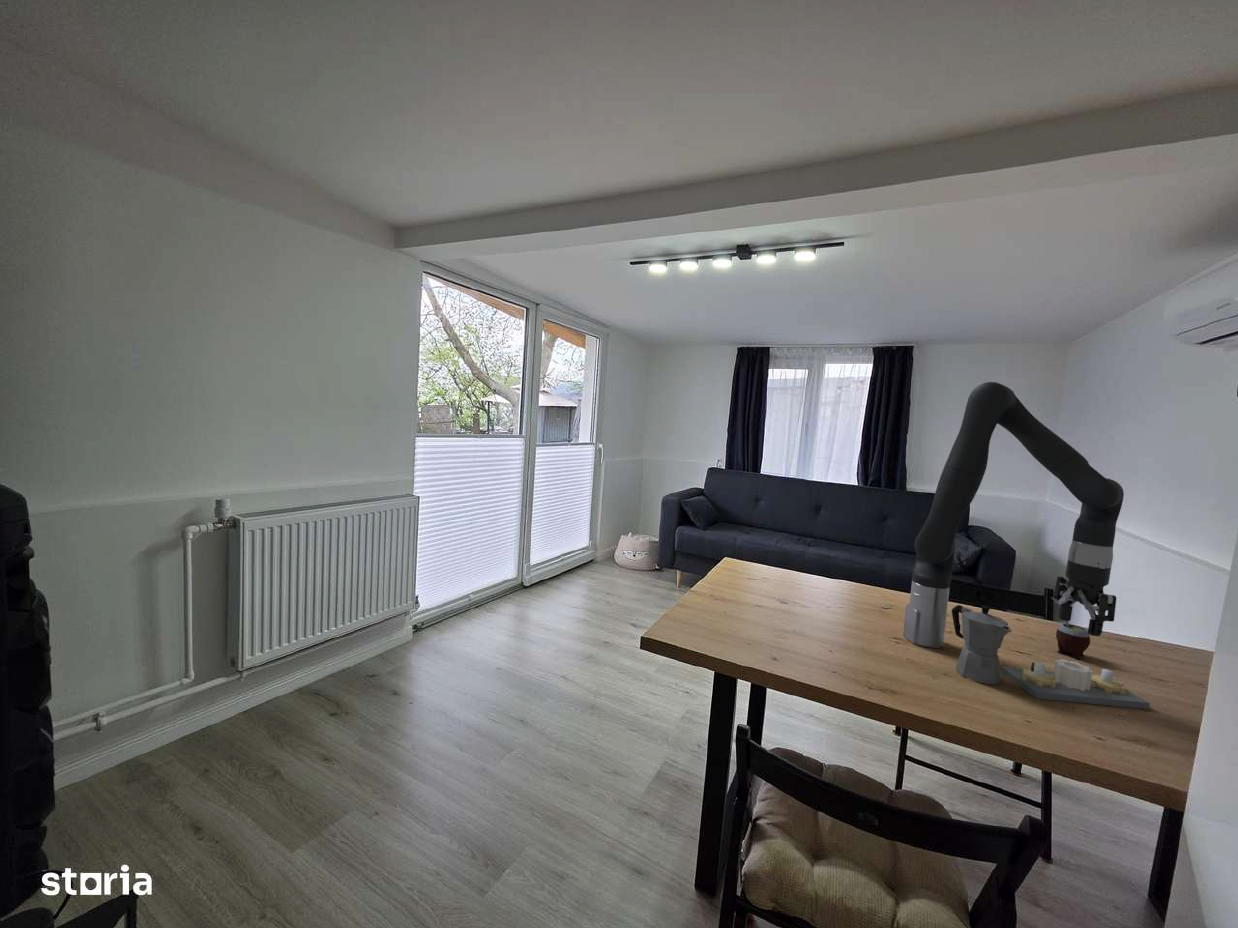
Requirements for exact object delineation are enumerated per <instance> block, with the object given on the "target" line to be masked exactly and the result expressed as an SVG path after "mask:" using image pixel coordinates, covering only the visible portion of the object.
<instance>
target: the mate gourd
mask: <svg viewBox="0 0 1238 928" xmlns="http://www.w3.org/2000/svg"><path fill="white" fill-rule="evenodd" d="M1050 598H1051V600H1053V602H1055V603H1056V605H1058V606H1059V607H1060V604H1059V601H1058V600H1057V599H1054V597H1052V596H1051V597H1050ZM1090 636H1091V635H1090V634H1088V630H1087V629H1086V628H1084V627H1082V626H1079V625H1076V624H1070V623H1069V621H1064V623H1063V624H1060V625H1059V626H1058V627H1057V630H1056V633H1055V637H1056V640H1057V648H1058V650H1057V652H1058V654H1059V653H1062V654H1061V655H1065V654H1066V656H1071V657H1072V658H1074V659H1076V660H1079V661H1080V659H1081V658H1080V657H1081V656H1082V657H1084V656H1085V654H1084V652H1086V651H1087V649H1088V648H1089V646H1090V644H1091V637H1090ZM1057 652H1056V653H1057Z"/></svg>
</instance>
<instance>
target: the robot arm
mask: <svg viewBox="0 0 1238 928" xmlns="http://www.w3.org/2000/svg"><path fill="white" fill-rule="evenodd" d="M967 398H968V399H967V401H966V405H965V410H964V413H963V417H962V422H961V425H960V428H959V432H958V433H957V436H956V438H955V440H954V442H953V445H952V447H951V450H950V451H949V452H950V453H949V455H948V457H947V459H946V462H945V464H944V466H943V469H942V471H941V474H940V478H939V480H938V484H937V485H936V489H935V493H934V497H933V501H932V505H931V508H930V511H929V513H928V516H927V517H926V520H925V522H924V524H923V526H922V527H921V529H920V531H919V533H918V535H917V536H916V537H915V539H914V540H915V541H914V549H915V553H916V554H915V556H916V557H915V563H914V566H913V571H912V577H911V587H910V588H911V589H910V595H909V596H910V597H909V603H908V604H906V605H905V612H904V613H905V614H904V624H903V631H902V635H903V636H904V638H906V640H908V641H909V642H911V644H913V645H918V646H922V647H925V648H926V647H927V648H933V649H935V648H937V649H940V648H942V647H943V646H944V640H945V631H946V623H947V614H948V612H947V611H948V605H949V595H950V587H951V580H952V575H953V568H954V560H955V551H956V541H955V538H956V534H957V532H958V528H959V524H960V523H961V520H962V519H963V517H964V515H965V513H966V512H967V510H968V508H969V507H970V506H971V504H972V502H973V501H974V499H975V496H976V495H977V492H978V490H979V488H980V486H981V483H982V481H983V478H984V476H985V473H986V471H987V466H988V460H989V452H990V451H989V449H990V443H991V438H992V436H993V433H994V430H995V429H996V427H997V425H999V426H1001V427H1002V428H1004V429H1006V431H1008V432H1009V433H1010V434H1011V435H1012V436H1014V437H1015V439H1017V441H1018V442H1019V443H1020V444H1022V446H1023V447H1024V448H1025V449H1026V450H1027V452H1029V454H1031V456H1032V457H1033V458H1034V459H1035V460H1036V461H1037V462H1039V464H1040V465H1042V466H1043V467H1044V468H1045V469H1046V470H1047V471H1049V473H1050V474H1052V475H1053V476H1054V477H1056V478H1057V479H1058V480H1059V481H1061V483H1062V484H1063V485H1064V486H1065V488H1066V489H1067V490H1068V491H1069V492H1070V493H1071V494H1072V495H1073V496H1074V497H1075V498H1076V499H1077V501H1079V502H1080V503H1081V507H1080V513H1079V516H1078V517H1077V519H1076V521H1075V523H1074V528H1073V535H1072V541H1071V543H1070V547H1069V550H1068V556H1067V563H1066V567H1065V568H1066V569H1065V573H1064V574H1065V577H1064V576H1057V577H1056V578H1057V579H1056V582H1055V586H1054V591H1053V592H1054V593H1053V597H1052V598H1054V599H1055V600H1056V601H1058V602H1059V604H1060V606H1059V610H1058V611H1059V612H1058V620H1061V621H1063V622H1065V621H1068V622H1070V621H1071V620H1072V614H1073V613H1072V612H1073V606H1074V604H1075V603H1079V604H1081V605H1082V606H1084V609H1085V610H1087V612H1088V614H1089V617H1090V618H1089V620H1088V621H1089V622H1088V628H1087V629H1088V630H1087V632H1088V634H1089V635H1090V636H1093V637H1094V636H1095V637H1100V636H1101V635H1102V634H1103V633H1102V632H1103V627H1104V623H1105V622H1113V623H1114V621H1115V615H1116V607H1117V596H1116V595H1114V594H1108V593H1105V592H1104V587H1105V586H1108V585H1109V583H1110V577H1111V571H1112V565H1113V561H1114V543H1115V536H1116V528H1117V521H1118V519H1119V516H1120V513H1121V511H1122V506H1123V502H1124V496H1125V495H1124V489H1123V487H1122V485H1121V484H1120V483H1119V482H1117V481H1116V480H1114V479H1111V478H1108V477H1105V476H1103V474H1101V473H1100V472H1099V471H1098V470H1096V469H1095V468H1094V467H1092V466H1091V465H1090V464H1089V463H1090V462H1089V461H1088V459H1087V458H1085V457H1084V456H1083V455H1082V454H1081V453H1080V452H1079V451H1078V450H1076V449H1075V448H1074V447H1073V446H1072V445H1070V444H1069V443H1068V442H1066V441H1065V440H1064V439H1063V438H1061V437H1060V435H1059V436H1058V434H1056V433H1055V432H1053V431H1052V430H1051V429H1049V428H1048V427H1047V426H1046V425H1044V424H1043V423H1042V422H1041V421H1040V420H1039V419H1038V418H1036V417H1035V416H1034V415H1033V414H1032V413H1031V412H1030V411H1029V409H1027V407H1026V406H1024V404H1023V403H1022V401H1021V400H1020V399H1019V398H1018V396H1016V394H1015V392H1014V391H1013V390H1012V389H1011V388H1010V387H1008V386H1006V385H1004V384H1002V383H999V382H996V381H987V382H984V383H983V382H982V383H981V384H979V385H977V386H976V387H974V389H973V390H972V391H971V392H970V394H969V395H968V397H967ZM1061 592H1062V594H1061ZM1106 613H1107V615H1106Z"/></svg>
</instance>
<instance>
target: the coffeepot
mask: <svg viewBox="0 0 1238 928" xmlns="http://www.w3.org/2000/svg"><path fill="white" fill-rule="evenodd" d="M990 609H991V608H990V607H988V606H986V605H981V612H980V611H973V610H972V609H970V608H968V607H965V606H963V605H960V604H957V605H956V606H954V607H952V609H951V617H952V621H953V627H954V631H955V635H956V636H957V637H959V638H960V639H963V641H964V645H963V647H962V648H961V652H960V653H959V657H958V659H957V663H956V665H955V668H954V669H955V671H956V672H957V673H958V674H959V675H960V676H962V677H963V678H965V679H967V678H969V679H971V680H970V681H972V680H974V681H973V682H975V681H976V683H978V682H979V684H982V683H986V684H985V685H989V684H994V685H998V684H999V682H1000V681H1001V669H1000V659H999V658H1000V657H999V654H998V651H999V649H1000V648H1002V647H1001V646H1002V643H1003V641H1004V637H1005V636H1006V635H1007V634H1008V633H1011V632H1012V629H1011V627H1009V625H1008V624H1009V622H1007V621H1006V620H1004V619H1003V618H1002V617H999V616H996V615H992V614H989V611H990ZM959 613H960V614H961V624H960V614H959ZM961 625H962V627H961ZM961 628H962V633H961ZM969 679H968V680H969ZM997 683H998V684H997Z"/></svg>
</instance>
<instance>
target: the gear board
mask: <svg viewBox="0 0 1238 928" xmlns="http://www.w3.org/2000/svg"><path fill="white" fill-rule="evenodd" d="M1046 667H1047V666H1046V665H1045V664H1042V663H1039V662H1034V661H1033V662H1031V667H1030V668H1025V667H1023V668H1021V667H1020V668H1018V667H1007V666H1006V667H1005V666H1002V667H1001V674H1003V675H1004V676H1006V677H1007V678H1009V679H1010V680H1011V679H1012V680H1013V681H1012V680H1011V681H1012V682H1013V683H1015V682H1016V683H1017V684H1016V683H1015V684H1016V685H1018V686H1019V685H1020V686H1021V687H1020V686H1019V687H1020V688H1022V687H1023V688H1024V689H1023V688H1022V689H1023V690H1024V691H1026V692H1027V691H1028V692H1027V693H1028V694H1030V695H1031V696H1033V697H1034V698H1035V699H1039V700H1040V699H1042V700H1051V701H1058V702H1059V701H1061V702H1070V703H1071V702H1072V703H1079V704H1080V703H1083V704H1092V705H1102V706H1114V707H1123V708H1134V709H1145V710H1149V709H1150V703H1151V702H1149V701H1148V700H1145V699H1144V698H1142V697H1140V696H1139V695H1137V694H1136V693H1134V692H1132V691H1129V690H1128V689H1127V688H1126V687H1125V686H1124V682H1121V681H1119V680H1115V679H1114V671H1112V670H1110V669H1105V668H1101V674H1099V675H1098V674H1092V680H1091V687H1090V690H1087V689H1086V690H1085V691H1080V690H1079V689H1074V688H1072V689H1071V688H1068V687H1066V686H1065V685H1063V684H1061V683H1057V681H1055V677H1054V676H1053V675H1054V670H1053V671H1052V670H1046ZM1069 667H1071V668H1075V669H1078V668H1076V667H1073V666H1069Z"/></svg>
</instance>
